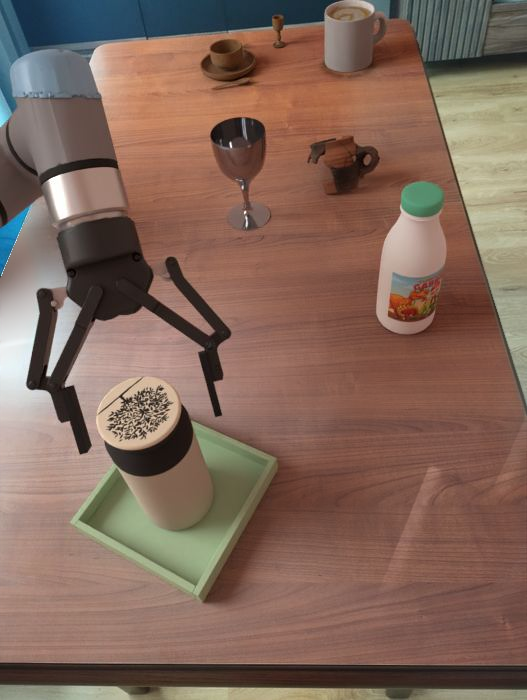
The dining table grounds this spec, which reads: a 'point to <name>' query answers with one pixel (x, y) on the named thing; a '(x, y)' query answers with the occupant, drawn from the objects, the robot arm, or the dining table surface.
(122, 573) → the dining table surface
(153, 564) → the tray
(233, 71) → the place setting
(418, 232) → the milk bottle
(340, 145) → the pottery mug
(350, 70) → the coffee mug
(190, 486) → the travel mug
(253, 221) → the wine glass
